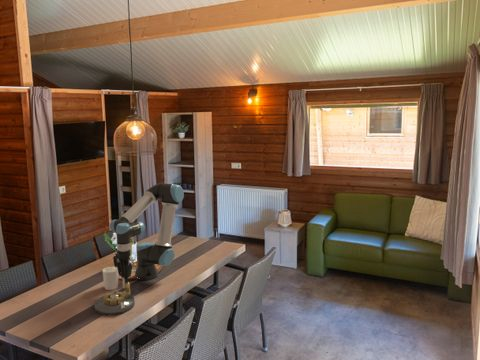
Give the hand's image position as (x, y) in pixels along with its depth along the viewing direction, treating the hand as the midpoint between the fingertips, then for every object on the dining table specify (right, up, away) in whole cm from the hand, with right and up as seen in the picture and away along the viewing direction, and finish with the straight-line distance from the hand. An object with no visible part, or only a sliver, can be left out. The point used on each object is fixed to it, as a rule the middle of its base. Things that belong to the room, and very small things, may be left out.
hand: (125, 287), depth 244 cm
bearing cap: (-4, -9, -8) cm, 12 cm away
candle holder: (-14, -5, +18) cm, 23 cm away
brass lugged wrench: (-2, -5, -6) cm, 8 cm away
